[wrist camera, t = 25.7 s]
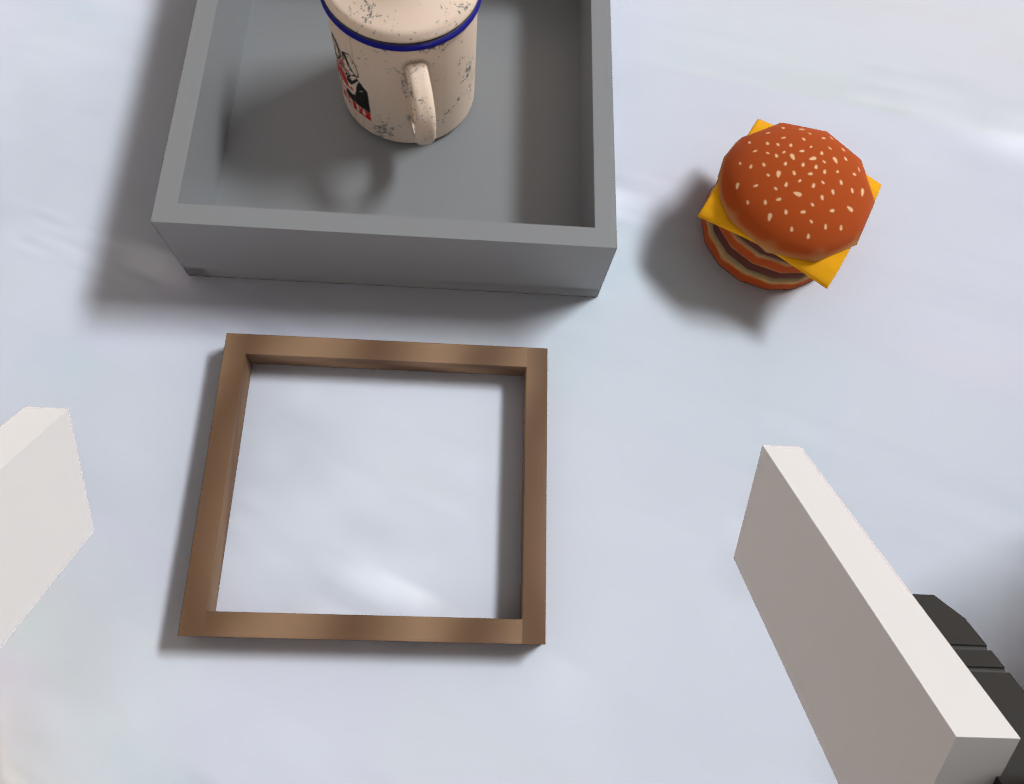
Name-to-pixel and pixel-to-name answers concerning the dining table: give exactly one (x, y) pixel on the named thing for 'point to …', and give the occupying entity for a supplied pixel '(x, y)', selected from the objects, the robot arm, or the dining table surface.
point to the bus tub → (393, 158)
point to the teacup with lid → (406, 64)
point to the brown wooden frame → (211, 623)
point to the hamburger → (787, 206)
